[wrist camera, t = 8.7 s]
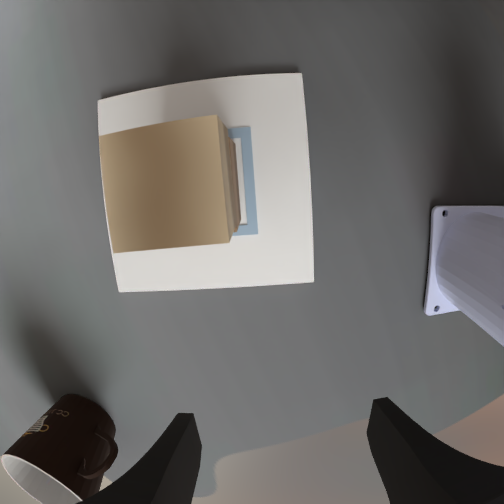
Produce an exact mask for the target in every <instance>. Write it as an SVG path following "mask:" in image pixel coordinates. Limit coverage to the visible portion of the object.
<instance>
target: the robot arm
mask: <svg viewBox="0 0 504 504" xmlns="http://www.w3.org/2000/svg"><path fill="white" fill-rule="evenodd" d="M444 210H445V215H444V216H443V215H442V213H443V211H444ZM435 306H437V308H436V309H435V310H434V308H435ZM458 310H461V311H462V312H463V313H464V314H465V315H467V316H468V317H469V318H470V319H472V320H473V321H474V322H475V323H477V324H478V325H479V326H480V327H481V328H483V329H484V330H485V331H486V332H487V333H489V334H490V335H491V336H492V337H493V338H494V339H496V340H497V341H498V342H499V343H500V344H501V345H503V346H504V206H435V207H434V208H433V209H432V212H431V236H430V253H429V266H428V277H427V287H426V295H425V303H424V312H425V313H426V314H427V315H436V314H441V313H447V312H453V311H458ZM367 437H368V441H369V445H370V449H371V452H372V456H373V458H374V461H375V463H376V466H377V468H378V471H379V473H380V476H381V478H382V481H383V484H384V486H385V489H386V491H387V494H388V497H389V501H390V504H504V467H502V466H497V465H494V464H490V463H487V462H484V461H481V460H478V459H475V458H473V457H470V456H468V455H465V454H464V453H461V452H459V451H457V450H455V449H454V448H452V447H450V446H448V445H447V444H445V443H443V442H442V441H440V440H438V439H437V438H435V437H434V436H433V435H431V434H430V433H428V432H427V431H426V430H425V429H423V428H422V427H421V426H420V425H418V424H417V423H416V422H415V421H413V420H412V419H411V418H410V417H409V416H408V415H407V414H405V413H404V412H403V411H402V410H401V409H400V408H399V407H398V406H397V405H395V404H394V403H393V402H392V401H391V400H390V399H389V398H388V397H385V398H380V399H374V400H373V404H372V409H371V414H370V419H369V424H368V429H367ZM201 449H202V444H201V441H200V437H199V433H198V430H197V426H196V422H195V418H194V414H193V413H178V414H177V415H176V416H175V418H174V419H173V421H172V422H171V423H170V425H169V426H168V427H167V429H166V430H165V431H164V433H163V434H162V435H161V436H160V438H159V439H158V440H157V441H156V442H155V444H154V445H153V446H152V447H151V448H150V450H149V451H148V452H147V453H146V454H145V455H144V456H143V457H142V458H141V459H140V460H139V461H138V462H137V463H136V464H135V465H134V466H133V467H132V468H131V469H130V470H128V471H127V472H126V473H125V474H124V475H122V476H121V477H120V478H119V479H117V480H116V481H115V482H113V483H112V484H111V485H109V486H107V487H106V488H104V489H103V490H101V491H99V492H98V493H96V494H94V495H92V496H90V497H89V498H87V499H85V500H83V501H80V502H78V503H76V504H191V502H192V498H193V494H194V489H195V485H196V481H197V477H198V472H199V468H200V460H201Z"/></svg>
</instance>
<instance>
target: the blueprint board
mask: <svg viewBox="0 0 504 504" xmlns="http://www.w3.org/2000/svg"><path fill="white" fill-rule="evenodd" d="M210 115H218V117H219V118H220V119H221V121H222V122H223V123H224V125H225V126H226V128H227V129H228V137H230V138H231V139H232V141H233V142H234V143H235V145H236V159H237V172H238V185H239V198H240V211H241V221H240V224H239V227H238V230H237V232H233V235H232V237H231V240H230V243H224V244H212V245H201V246H189V247H178V248H167V249H156V250H145V251H134V252H123V253H113V248H112V242H111V237H110V230H109V224H108V217H107V211H106V203H105V196H104V203H105V211H106V219H107V226H108V233H109V239H110V246H111V252H112V258H113V263H114V269H115V274H116V279H117V284H118V289H119V292H140V291H168V290H191V289H212V288H230V287H248V286H264V285H279V284H293V283H307V282H314V258H313V224H312V200H311V180H310V164H309V149H308V135H307V123H306V111H305V100H304V90H303V80H302V73H281V74H260V75H245V76H233V77H223V78H214V79H205V80H198V81H191V82H184V83H177V84H171V85H166V86H160V87H155V88H150V89H145V90H140V91H135V92H130V93H126V94H122V95H118V96H113V97H109V98H105V99H102V100H98V128H99V136H102V135H106V134H110V133H114V132H119V131H123V130H128V129H133V128H137V127H142V126H147V125H153V124H158V123H164V122H169V121H175V120H182V119H188V118H195V117H202V116H210ZM99 148H100V146H99ZM100 162H101V158H100ZM101 174H102V169H101ZM102 185H103V178H102ZM103 194H104V187H103Z"/></svg>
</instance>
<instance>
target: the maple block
mask: <svg viewBox="0 0 504 504" xmlns="http://www.w3.org/2000/svg"><path fill="white" fill-rule="evenodd" d="M99 146H100V158H101V169H102V178H103V187H104V196H105V203H106V211H107V217H108V224H109V230H110V237H111V242H112V248H113V253H123V252H134V251H145V250H156V249H167V248H178V247H189V246H201V245H212V244H224V243H230V240H231V237H232V235H233V232H234V230H235V227H236V225H237V222H236V212H235V202H234V192H233V181H232V170H231V160H230V149H229V138H228V129H227V128H226V126H225V125H224V123H223V122H222V121H221V119H220V118H219V117H218V115H210V116H202V117H195V118H188V119H182V120H175V121H169V122H164V123H158V124H153V125H147V126H142V127H137V128H133V129H128V130H123V131H119V132H114V133H110V134H106V135H102V136H99Z"/></svg>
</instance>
